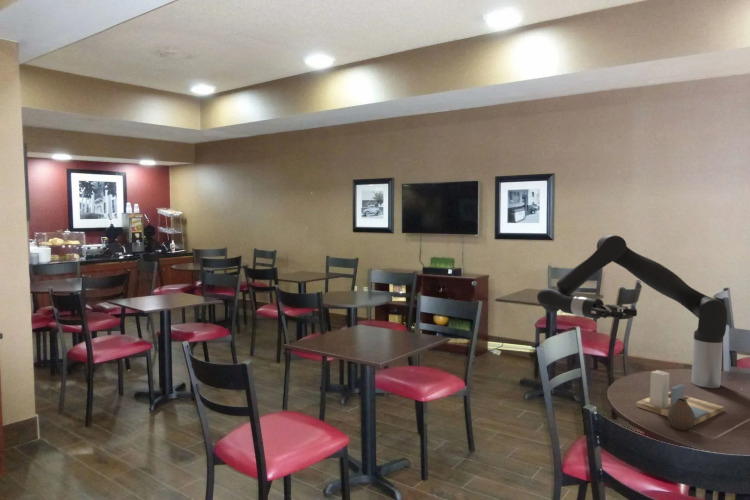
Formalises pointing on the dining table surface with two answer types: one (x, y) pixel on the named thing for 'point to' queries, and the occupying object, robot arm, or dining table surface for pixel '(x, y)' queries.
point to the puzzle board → (692, 402)
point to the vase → (681, 415)
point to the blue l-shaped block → (679, 393)
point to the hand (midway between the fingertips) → (629, 314)
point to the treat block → (659, 389)
